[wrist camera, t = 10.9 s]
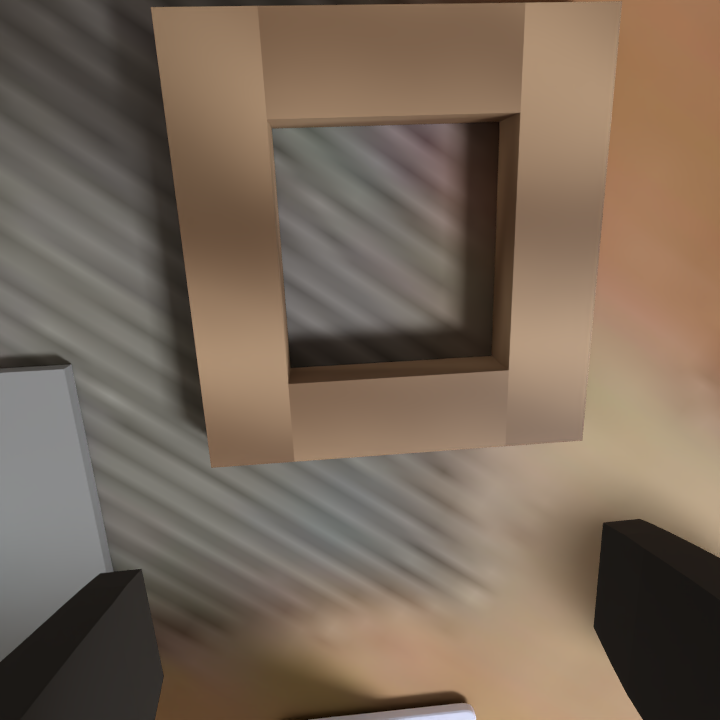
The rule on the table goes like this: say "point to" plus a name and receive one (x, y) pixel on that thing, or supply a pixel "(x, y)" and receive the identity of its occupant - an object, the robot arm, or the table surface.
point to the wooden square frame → (390, 107)
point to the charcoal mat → (44, 500)
